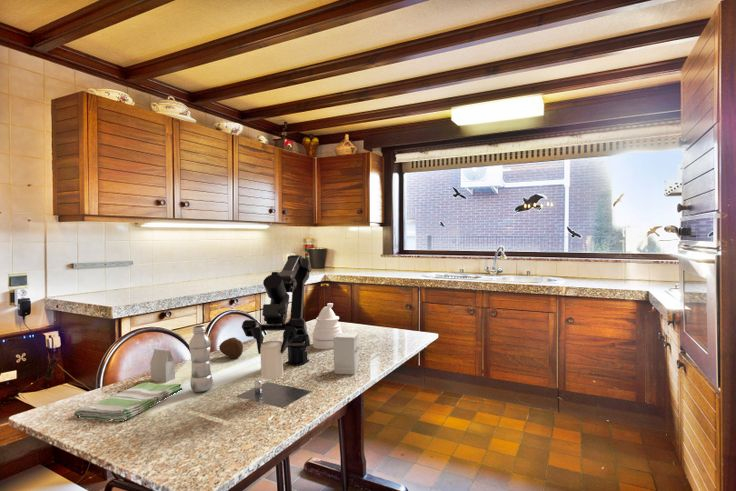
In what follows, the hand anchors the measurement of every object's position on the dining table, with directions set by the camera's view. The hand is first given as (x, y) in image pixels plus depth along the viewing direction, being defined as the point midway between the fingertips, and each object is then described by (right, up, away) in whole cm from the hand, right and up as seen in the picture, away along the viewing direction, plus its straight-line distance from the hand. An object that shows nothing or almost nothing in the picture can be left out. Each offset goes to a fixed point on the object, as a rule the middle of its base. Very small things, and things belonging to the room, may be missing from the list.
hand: (270, 353), depth 119 cm
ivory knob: (0, -7, +2) cm, 7 cm away
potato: (-25, -13, +43) cm, 52 cm away
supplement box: (+21, -12, +23) cm, 34 cm away
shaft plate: (+1, -13, +2) cm, 14 cm away
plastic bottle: (-23, -14, +8) cm, 28 cm away
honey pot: (+11, -12, +58) cm, 60 cm away
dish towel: (-40, -15, 0) cm, 43 cm away
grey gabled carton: (-41, -14, +20) cm, 48 cm away
